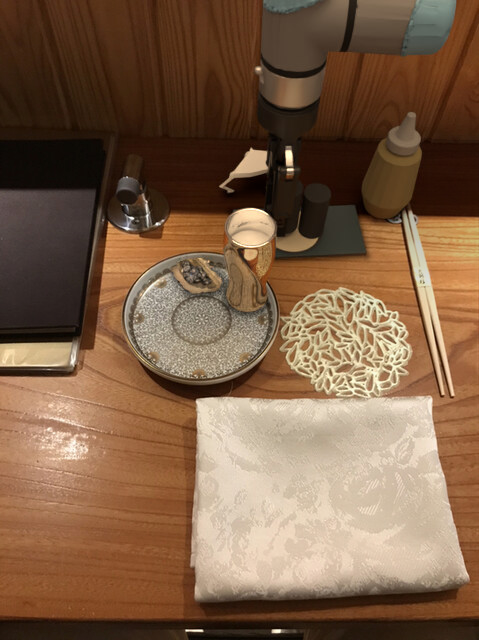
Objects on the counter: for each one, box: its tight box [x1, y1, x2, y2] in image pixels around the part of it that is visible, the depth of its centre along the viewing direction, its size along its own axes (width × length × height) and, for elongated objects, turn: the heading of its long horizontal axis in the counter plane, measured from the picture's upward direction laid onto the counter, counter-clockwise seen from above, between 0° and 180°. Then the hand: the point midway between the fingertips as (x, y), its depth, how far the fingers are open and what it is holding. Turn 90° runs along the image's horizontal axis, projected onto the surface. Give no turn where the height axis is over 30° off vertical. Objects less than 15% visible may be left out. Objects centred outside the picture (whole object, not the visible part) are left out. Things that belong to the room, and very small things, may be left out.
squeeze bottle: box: [360, 111, 423, 220], centre depth 85 cm, size 8×8×18 cm
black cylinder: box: [298, 182, 332, 239], centre depth 85 cm, size 4×4×8 cm
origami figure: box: [219, 147, 268, 194], centre depth 93 cm, size 12×8×5 cm
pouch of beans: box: [170, 257, 223, 295], centre depth 84 cm, size 7×8×2 cm
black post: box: [286, 179, 305, 234], centre depth 84 cm, size 4×4×8 cm
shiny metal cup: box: [222, 207, 277, 313], centre depth 76 cm, size 7×7×15 cm
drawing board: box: [232, 204, 367, 260], centre depth 89 cm, size 20×10×1 cm, turn 94°
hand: (274, 223), depth 87 cm, fingers closed on black post, 4 cm apart
